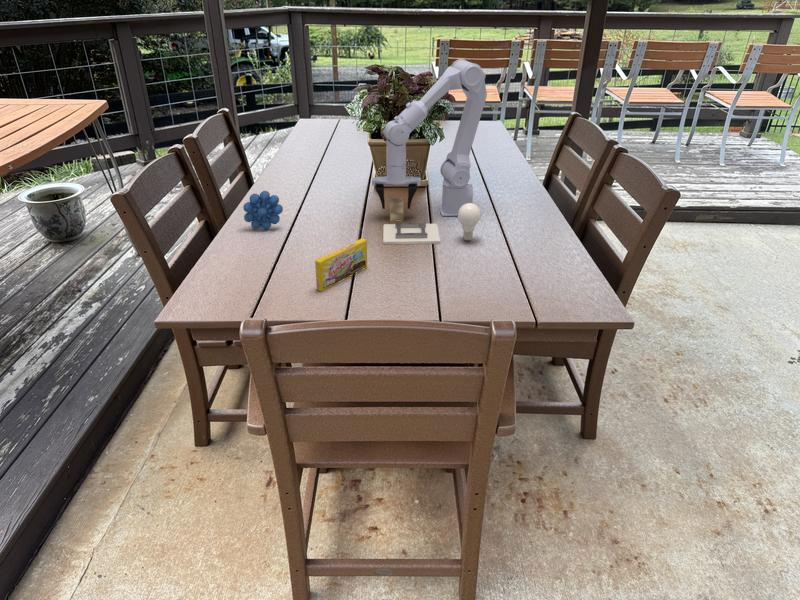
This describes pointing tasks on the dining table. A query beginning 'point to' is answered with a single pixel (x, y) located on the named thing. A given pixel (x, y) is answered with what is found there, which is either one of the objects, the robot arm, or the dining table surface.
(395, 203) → the birch block
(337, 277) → the candy box
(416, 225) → the socket board
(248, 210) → the blue knobbed flower
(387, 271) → the dining table surface
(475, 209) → the lightbulb
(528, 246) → the dining table surface
